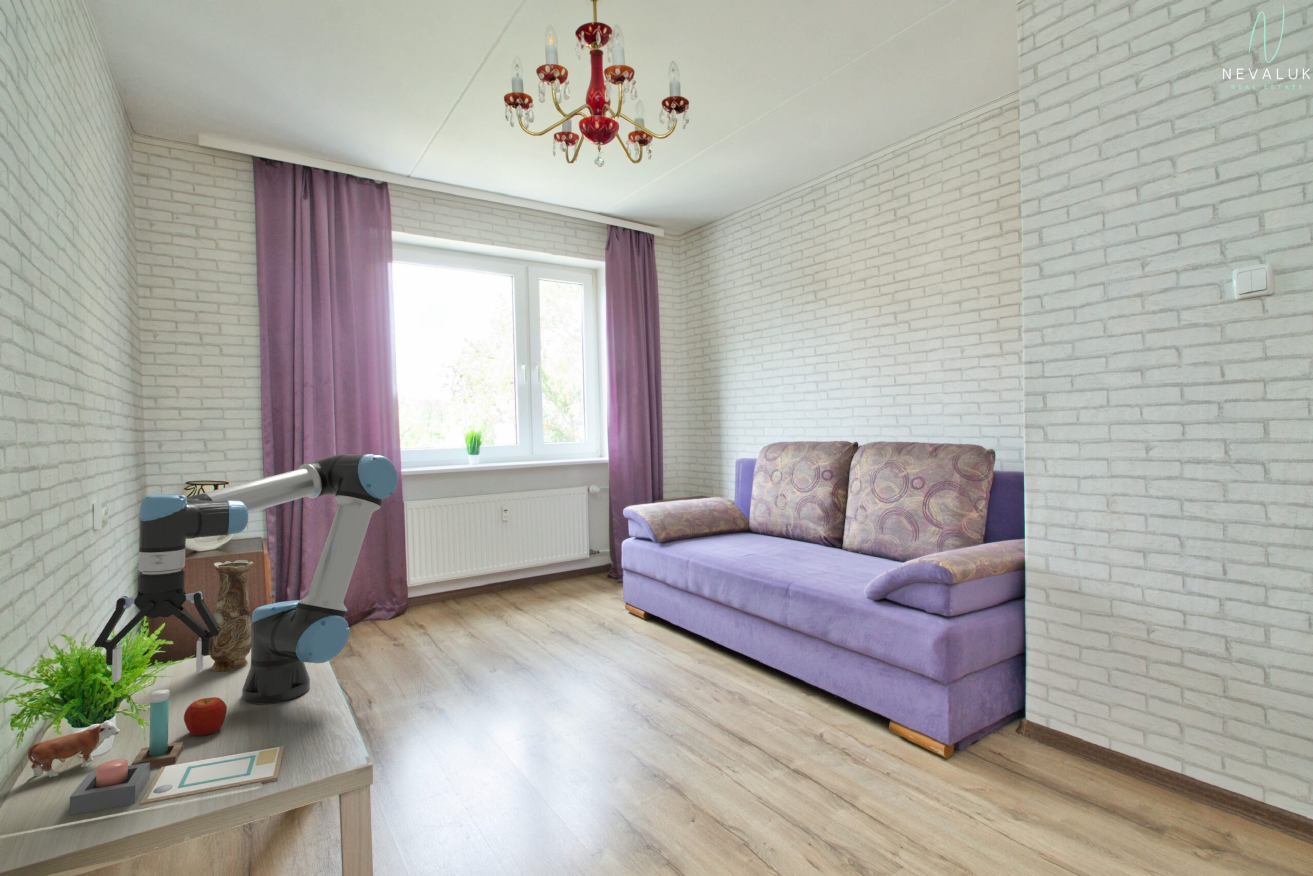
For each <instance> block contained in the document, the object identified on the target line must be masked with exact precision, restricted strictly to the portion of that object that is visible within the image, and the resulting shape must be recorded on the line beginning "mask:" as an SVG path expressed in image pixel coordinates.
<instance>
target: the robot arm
mask: <svg viewBox="0 0 1313 876" xmlns="http://www.w3.org/2000/svg"><path fill="white" fill-rule="evenodd" d="M398 482H399V476H398V471H397V469H396V467H395V464H394V463H393V462H392V461H391V460H390V458H387V456H384V455H378V454H373V453H367V454H357V453H353V454H352V453H343V454H336V455H333V456H329V457H325V458H322V459H319V460H315V461H314V460H313V461H312V462H307V463H304V464H301V465H300V466H299V467H298V469H295V470H290V471H287V472H283V473H279V474H275V475H271V476H266V477H262V478H258V479H255V480H251V481H247V482H243V483H242V482H241V483H238V484H234V485H231V486H226V487H223V488H222V487H221V488H219V489H218V488H217V489H215V490H210V491H206V492H203V493H199V494H194V495H190V496H186V495H184V494H177V493H176V494H152V495H147V496H145V497H143V499H142V500H141V501H140V506H139V508H140V509H139V517H138V521H139V543H138V544H139V546H138V547H139V548H138V567H137V568H138V571H139V572H140V573H139V574H138V575H137V595H136V597H128V596H127V595H122V596H121V597H120V598H118V599H117V600H116V605H115V610H114V611H113V613H112V614H111V616H110V618H109V619H108V621H107V622H106V624H105V626H104V627H103V629H102V630H101V632H100V634H99V635H98V636H97V638H96V640H95V642H94V643H93V646H94V647H95V648H103V649H105V653H106V654H105V664H106V666H111V684H113V683H114V684H115V683H118V682H119V681H120V680H121V679H122V660H123V659H122V656H123V645H118V644H119V643H120V641H122V640H123V638H125V637H126V636H127V634H129V633H130V632H131V631H132V629H134V628H135V627H136V626H137V625H138V624H139V623H140V622H141V621H142V620H143V619H144V618H145V617H147V618H149V619H155V618H169V617H171V616H174V617H176V618H177V619H179V620H180V621H181V622H182V623H184V625H185V626H187V627H188V628H189V629H190V630H191V631H192V632H193V633H194V634H195V635H197V636H198V637H199V638H198V639H197V641H196V657H195V673H196V674H201V673H202V671H203V669H204V656H206V655H208V654H210V653H209V651H210V638H211V637H213V636H217V635H218V634H219V632H220V631H221V629H220V627H219V625H218V624H217V622H216V620H215V619H214V614H213V613H212V612H211V610H210V609H209V606H208V605H207V604H206V602H205V599H204V592H203V591H202V590H197V591H196V592H191V593H186V591H185V574H186V573H185V571H184V569H183V568H184V567H185V566H186V545H187V544H186V542H187V540H189V539H198V538H205V537H206V538H207V537H208V538H209V537H217V536H218V537H219V536H229V535H233V534H235V535H236V534H239V533H240V534H241V533H242V532H243V531H245V529H246V528H247V526H248V523H249V514H251V513H252V512H257V511H261V510H264V509H268V508H271V507H275V506H279V505H283V504H284V503H285V504H286V503H288V502H292V501H296V500H299V499H301V498H302V499H303V498H305V497H307V498H309V499H315V498H319V497H324V496H334V499H335V500H336V502H337V505H338V506H337V508H336V509H337V510H336V512H335V515H334V516H333V521H332V523H331V526H330V528H329V532H328V536H327V537H326V540H325V543H324V546H323V550H322V553H321V556H320V557H319V561H318V563H317V567H316V570H315V572H314V576H313V578H312V581H311V585H310V587H309V590H308V592H307V595H306V596H305V597H303V598H302V599H299V600H298V599H297V600H287V601H278V602H273V603H268V604H265V605H261V606H258V607H256V608H255V609H253V611H252V614H251V649H250V668H249V671H248V673H247V675H246V678H245V682H244V684H243V687H242V689H241V695H242V696H241V699H242V701H244V702H245V703H248V704H256V705H261V704H262V705H264V704H275V703H280V702H281V703H282V702H284V701H288V700H292V699H295V698H298V697H300V696H303V695H304V694H306V693H308V692H309V690H310V688H311V677H310V674H309V672H308V669H307V666H306V664H305V663H308V664H324V663H326V662H330V661H332V660H333V659H334V658H335V657H337V656H339V655H340V653H341V652H343V650H344V649H345V647H346V645H347V644H348V641H349V639H350V633H351V630H350V627H349V622H348V621H347V620H346V616H347V613H348V608H347V607H346V606H345V603H344V601H345V598H346V595H347V592H348V589H349V586H350V583H351V580H352V577H353V574H354V571H355V567H356V565H357V562H358V558H359V556H360V552H361V549H362V546H363V543H364V541H365V540H364V539H365V536H366V534H367V531H368V527H369V524H370V520H371V519H372V515H373V513H375V512H376V511H378V510H379V509H381V506H382V504H383V501H384V500H385V499H387V498H389V497H390V496H391V495H393V494H394V492H395V491H396V489H397V487H398ZM186 601H189V603H191V604H193V605H194V607H195V609H196V611H197V612H198V614H199V615H200V618H202V620H203V622H204V624H205V625H206V627H207V628H206V627H205V626H204V625H203V624H202V623H201V622H199V621H198V620H197V619H196V618H195V617H194V616H193V615H192V614H191V613H189V612H188V610H187V608H185V607H184V606H183V604H184V603H185V602H186ZM133 604H134V606H135V607H136V608H137V609H138V610H139V611H138V612H137V614H135V615H134V617H133V618H132V619H130V620H129V622H128V623H127V624H126V625H125V626H124V627H123V628H122V629H121V630H120V631H118V633H117V634H116V635H115V636H113V638H112V639H109V637H110V635H111V634H112V633H113V631H114V629H115V628H116V626H117V625H118V623H119V622H120V620H121V618H122V617H123V615H124V613H125V611H126V610H127V609H129V608H131V606H132V605H133Z"/></svg>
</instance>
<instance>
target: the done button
mask: <svg viewBox="0 0 1313 876" xmlns="http://www.w3.org/2000/svg"><path fill="white" fill-rule="evenodd" d="M128 766H129V760H128V759H125V758H118V759H112V760H109V761H106V762H103V763H100V765H97V767H96V770H95V771H96V787H98V788H102V787H108V786H113V785H118V784H120V783H122V782H124V781H126V780H127V778H128Z"/></svg>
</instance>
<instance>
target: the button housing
mask: <svg viewBox="0 0 1313 876" xmlns="http://www.w3.org/2000/svg"><path fill="white" fill-rule="evenodd" d="M150 770H151V768H150V762H149V763H143V764H137V765H131V764H130V765H128V778H127V780H126V781H124V782H122V783H120V784H118V785H113V786H108V787H102V788H98V787H96V770H95V771H91V772H88V773H87V775H86V776H85V777H84V779H82V781H81V782H80V783H79V785H78V786H77V787H76V788H75V790H74V791H73V793H72V794H71V795H70V796H69V816H73V815H78V814H84V813H87V812H88V813H90V812H94V811H100V810H103V809H104V810H105V809H111V808H115V807H121V806H126V805H131V804H136V802H137V801H138V799H139V798H140V796H141V793H142V792H143V790H144V789H145V787H146V786H147V783H148V782H149V780H150V779H151V778H150V777H151V775H150V773H151V772H150Z"/></svg>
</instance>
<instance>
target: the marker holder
mask: <svg viewBox="0 0 1313 876" xmlns="http://www.w3.org/2000/svg"><path fill="white" fill-rule="evenodd" d="M183 750H184V741H180V742H173V743H168V750H167V751H166V755H165V756H159V757H153V758H151V755H149V746H148V747H142V748H141V749H140V750H139V752H138V753H137V755H136V756H135V758H134V759H133V760H132V762H131V764H130V766H131V765H137V764H143V763H149V762H150V769H152V768H157V767H164V766H169V765H175V764H177V761H178V760H179V758H180V755H181V754H182V752H183Z"/></svg>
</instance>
